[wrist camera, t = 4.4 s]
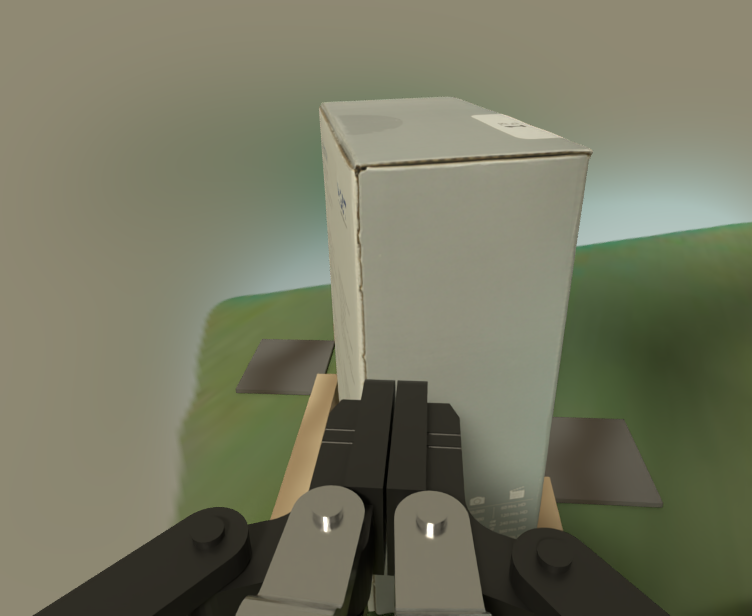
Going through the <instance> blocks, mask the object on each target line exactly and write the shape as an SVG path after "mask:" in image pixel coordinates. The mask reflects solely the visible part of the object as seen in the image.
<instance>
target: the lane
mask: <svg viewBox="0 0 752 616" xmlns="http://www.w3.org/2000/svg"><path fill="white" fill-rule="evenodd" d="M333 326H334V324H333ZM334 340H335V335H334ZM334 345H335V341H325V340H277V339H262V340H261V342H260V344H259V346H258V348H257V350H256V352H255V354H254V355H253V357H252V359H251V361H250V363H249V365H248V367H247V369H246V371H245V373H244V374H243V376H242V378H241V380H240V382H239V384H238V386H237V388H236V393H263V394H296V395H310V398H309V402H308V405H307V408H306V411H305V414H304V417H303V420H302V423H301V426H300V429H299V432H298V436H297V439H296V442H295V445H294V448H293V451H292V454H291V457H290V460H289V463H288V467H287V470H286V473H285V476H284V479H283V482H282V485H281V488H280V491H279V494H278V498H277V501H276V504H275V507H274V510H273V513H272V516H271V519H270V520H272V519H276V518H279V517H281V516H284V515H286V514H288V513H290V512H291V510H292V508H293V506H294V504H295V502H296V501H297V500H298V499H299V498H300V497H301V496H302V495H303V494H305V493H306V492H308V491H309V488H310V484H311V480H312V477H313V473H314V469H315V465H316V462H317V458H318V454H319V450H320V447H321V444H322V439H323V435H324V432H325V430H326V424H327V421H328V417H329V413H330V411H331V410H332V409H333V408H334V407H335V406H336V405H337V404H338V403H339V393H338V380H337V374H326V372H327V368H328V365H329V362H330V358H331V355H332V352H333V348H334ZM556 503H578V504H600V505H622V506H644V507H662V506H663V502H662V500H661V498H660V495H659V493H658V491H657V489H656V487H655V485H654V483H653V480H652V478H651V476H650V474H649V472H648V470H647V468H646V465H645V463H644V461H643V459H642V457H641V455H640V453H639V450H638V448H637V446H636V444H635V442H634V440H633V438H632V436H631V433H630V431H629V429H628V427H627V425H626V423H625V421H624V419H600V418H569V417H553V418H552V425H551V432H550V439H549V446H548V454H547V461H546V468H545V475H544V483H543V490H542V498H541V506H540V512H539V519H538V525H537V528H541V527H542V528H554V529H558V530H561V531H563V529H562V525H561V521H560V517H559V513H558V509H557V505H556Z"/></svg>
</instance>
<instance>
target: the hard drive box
mask: <svg viewBox="0 0 752 616" xmlns="http://www.w3.org/2000/svg"><path fill="white" fill-rule="evenodd" d="M319 114H320V128H321V142H322V155H323V169H324V183H325V196H326V213H327V227H328V244H329V258H330V275H331V290H332V306H333V320H334V335H335V350H336V366H337V380H338V393H339V402H340V401H341V400H342V399H349V400H361V396H362V390H363V385H364V381H365V379H376V380H395V384H396V390H397V381H398V380H406V381H428V395H427V403H450V405H451V406H452V407H453V409H454V410H455V412H456V413H457V415H458V416H459V418H460V431H461V446H462V448H461V450H462V461H463V477H464V492H465V502H466V505H467V508H468V510H469V511H470V513H471V515H472V516H473V517H474V518H475V519H476V520H477V521H478V522H479V523H480V524H482V525H483V526H485V527H486V528H488V529H490V530H492V531H494V532H497V533H499V534H502V535H505V536H508V537H511V538H514V539H517V538H518V537H519V536H520V535H521V534H522V533H524V532H526V531H528V530H530V529H534V528H537V525H538V519H539V512H540V506H541V498H542V490H543V483H544V475H545V468H546V461H547V454H548V446H549V439H550V432H551V425H552V418H553V410H554V403H555V396H556V389H557V381H558V374H559V367H560V359H561V352H562V345H563V338H564V330H565V323H566V316H567V309H568V302H569V294H570V287H571V280H572V273H573V266H574V258H575V251H576V244H577V238H578V231H579V224H580V217H581V211H582V204H583V197H584V190H585V182H586V176H587V169H588V162H589V159H590V157H591V155H592V153H593V151H592V150H591V149H589V148H587V147H585V146H583V145H580V144H578V143H575V142H572V141H569V140H567V139H565V138H563V137H561V136H558V135H556V134H553V133H551V132H548V131H545V130H543V129H539V128H537V127H533V126H531V125H529V124H526V123H524V122H521V121H519V120H517V119H514V118H512V117H509V116H507V115H503V114H500V113H497V112H494V111H492V110H489V109H485V108H482V107H480V106H477V105H475V104H472V103H469V102H466V101H464V100H461V99H458V98H455V97H431V98H430V97H429V98H408V99H383V100H365V101H341V102H323V103H322V104H321V106H320V107H319ZM394 599H395V589H394V576H389V575H387V548H386V559H385V570H384V575H373V576H372V585H371V594H370V599H369V601H368V610H369V611H376V613H377V614H378V615H381V614H386V613H392V612H394Z"/></svg>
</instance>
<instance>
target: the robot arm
mask: <svg viewBox="0 0 752 616" xmlns="http://www.w3.org/2000/svg"><path fill="white" fill-rule="evenodd" d="M427 395H428V381H406V380H398V381H397V390H396V384H395V380H376V379H365V381H364V385H363V390H362V396H361V400H349V399H342V400H341V401H340V402H339V403H338V404H337V405H336V406H335V407H334V408H333V409H332V410H331V411H330V413H329V417H328V421H327V424H326V430H325V432H324V435H323V439H322V444H321V447H320V450H319V454H318V458H317V462H316V465H315V469H314V473H313V477H312V480H311V484H310V488H309V491H308V492H306V493H305V494H303V495H302V496H301V497H300V498H299V499H298V500H297V501H296V502H295V504H294V506H293V508H292V510H291V512H290V513H288V514H286V515H284V516H281V517H279V518H276V519H272V520H268V521H263V522H258V523H253V524H249V525H247V522H246V520H245V518H244V517H243V516H242V515H241V514H240V513H239V512H237V511H235V510H233V509H230V508H224V507H213V508H207V509H204V510H201V511H198V512H196V513H194V514H192V515H190V516H188V517H187V518H185V519H184V520H182V521H180V522H179V523H177V524H176V525H174V526H173V527H171V528H170V529H168V530H166V531H165V532H163V533H162V534H160V535H159V536H157V537H155V538H154V539H152V540H151V541H149V542H148V543H146V544H145V545H143V546H141V547H140V548H138V549H137V550H135V551H133V552H132V553H131V554H129V555H127V556H126V557H124V558H122V559H121V560H119V561H118V562H116V563H115V564H113V565H112V566H110V567H108V568H107V569H105V570H104V571H102V572H100V573H99V574H98V575H96V576H94V577H93V578H91V579H89V580H88V581H87V582H85V583H83V584H82V585H80V586H78V587H77V588H75V589H74V590H72V591H71V592H69V593H68V594H66V595H64V596H63V597H61V598H60V599H58V600H57V601H55V602H54V603H52V604H50V605H49V606H47V607H46V608H44V609H42V610H41V611H39V612H38V613H36V614H35V615H33V616H367V614H368V601H369V599H370V594H371V585H372V576H373V575H384V570H385V559H386V548H387V575H389V576H394V589H395V599H394V616H670V615H669V614H668V613H666V612H665V611H664V610H663V609H662V608H660V607H659V606H658V605H657V604H656V603H654V602H653V601H652V600H651V599H650V598H648V597H647V596H646V595H645V594H644V593H642V592H641V591H640V590H639V589H638V588H636V587H635V586H634V585H633V584H632V583H630V582H629V581H628V580H627V579H626V578H624V577H623V576H622V575H621V574H620V573H618V572H617V571H616V570H615V569H614V568H612V567H611V566H610V565H609V564H608V563H606V562H605V561H604V560H603V559H602V558H600V557H599V556H598V555H597V554H596V553H594V552H593V551H592V550H591V549H590V548H588V547H587V546H586V545H585V544H584V543H582V542H581V541H580V540H578V539H577V538H576V537H574V536H572V535H571V534H569V533H566V532H564V531H561V530H558V529H554V528H542V527H541V528H534V529H530V530H528V531H526V532H524V533H522V534H521V535H520V536H519V537H518V538H517V539H514V538H511V537H508V536H505V535H502V534H499V533H497V532H494V531H492V530H490V529H488V528H486V527H485V526H483V525H482V524H480V523H479V522H478V521H477V520H476V519H475V518H474V517H473V516H472V515H471V513H470V511H469V510H468V508H467V505H466V502H465V492H464V477H463V461H462V450H461V448H462V446H461V431H460V418H459V416H458V415H457V413H456V412H455V410H454V409H453V407H452V406H451V405H450V403H427Z"/></svg>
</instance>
